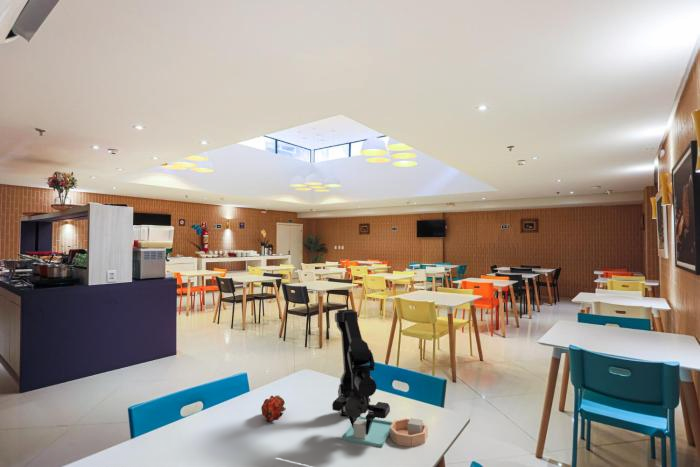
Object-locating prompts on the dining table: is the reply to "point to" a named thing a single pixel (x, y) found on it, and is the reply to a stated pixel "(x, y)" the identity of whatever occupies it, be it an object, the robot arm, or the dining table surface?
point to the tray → (371, 433)
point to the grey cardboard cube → (360, 429)
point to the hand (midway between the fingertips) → (361, 432)
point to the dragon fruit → (273, 408)
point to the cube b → (415, 426)
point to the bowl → (401, 433)
